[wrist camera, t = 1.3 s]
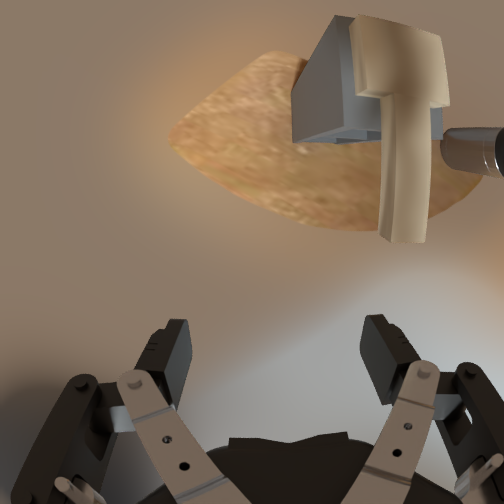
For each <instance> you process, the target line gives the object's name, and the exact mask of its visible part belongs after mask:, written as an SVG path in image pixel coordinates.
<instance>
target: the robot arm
mask: <svg viewBox="0 0 504 504" xmlns="http://www.w3.org/2000/svg"><path fill="white" fill-rule="evenodd" d="M441 153H442V156H443V159H444V161H445V162H446V164H447V165H448V166H449V167H451V168H452V169H455V170H461V171H466V172H471V173H476V174H481V175H487V176H491V177H496V178H500V179H504V127H503V128H502V127H493V128H492V127H478V128H477V127H475V128H451V129H448V130H447V131H446V132H445V133H444V134H443V140H441ZM360 354H361V357H362V359H363V361H364V364H365V366H366V368H367V370H368V373H369V375H370V377H371V380H372V382H373V384H374V387H375V389H376V392H377V394H378V396H379V399H380V401H381V404H382V405H387V404H392V406H393V408H392V411H391V412H390V414H389V417H388V419H387V421H386V423H385V425H384V427H383V429H382V431H381V433H380V436H379V438H378V440H377V441H376V443H375V445H374V446H373V445H371V444H369V443H366V442H363V441H359V440H353V439H349V438H348V434H347V432H339V433H331V434H323V435H317V436H314V437H311V438H307V439H304V440H300V441H297V442H293V443H284V442H278V441H272V440H266V439H261V438H229V445H228V446H223V447H219V448H215V449H213V450H210V451H208V452H206V453H205V452H204V450H203V449H202V448H201V446H200V445H199V444H198V442H197V441H196V439H195V438H194V437H193V435H192V434H191V433H190V431H189V430H188V428H187V427H186V425H185V424H184V423H183V421H182V420H181V418H180V417H179V415H178V414H177V408H178V405H179V401H180V397H181V394H182V391H183V387H184V384H185V380H186V377H187V373H188V370H189V366H190V363H191V360H192V345H191V338H190V332H189V326H188V321H187V320H186V319H170V320H169V322H168V324H167V326H166V328H165V329H159V330H157V331H156V332H155V333H154V334H152V335H151V337H150V339H149V341H148V344H146V347H145V348H144V350H143V352H142V354H141V356H140V358H139V360H138V362H137V364H136V366H135V368H134V370H130V371H128V372H125V373H123V374H122V375H121V376H120V377H119V378H118V380H117V382H113V383H102V384H98V381H97V380H96V378H95V377H94V376H92V375H90V374H80V375H77V376H75V377H73V378H72V379H70V380H69V382H68V383H67V385H66V387H65V388H64V390H63V392H62V393H61V395H60V397H59V398H58V400H57V402H56V404H55V406H54V407H53V409H52V411H51V412H50V414H49V416H48V418H47V420H46V422H45V424H44V425H43V427H42V429H41V431H40V433H39V435H38V437H37V439H36V441H35V443H34V444H33V446H32V448H31V450H30V452H29V455H28V457H27V459H26V461H25V463H24V465H23V467H22V469H21V471H20V474H19V476H18V478H17V480H16V482H15V485H14V487H13V490H12V492H11V503H12V504H106V502H105V500H104V499H103V498H102V497H101V496H100V495H99V493H100V490H101V486H102V483H103V480H104V476H105V473H106V470H107V466H108V463H109V460H110V457H111V454H112V451H113V447H114V445H115V442H116V439H117V436H118V433H119V432H126V431H137V433H138V435H139V437H140V439H141V441H142V443H143V445H144V447H145V449H146V451H147V453H148V455H149V457H150V458H151V460H152V462H153V464H154V465H155V467H156V469H157V470H158V473H159V474H160V476H161V478H162V479H163V481H164V484H163V485H161V486H160V487H159V488H157V489H156V490H155V491H153V492H152V493H150V494H149V495H147V496H146V497H145V498H143V499H142V500H140V501H138V502H137V503H135V504H504V401H503V400H502V399H501V397H500V395H499V394H498V392H497V391H496V389H495V388H494V386H493V385H492V383H491V382H490V380H489V379H488V378H487V376H486V375H485V373H484V372H483V370H482V369H481V368H480V367H479V366H478V365H476V364H474V363H471V362H464V363H461V364H459V365H458V367H457V369H456V371H455V372H440V371H439V369H438V367H437V366H436V365H435V364H433V363H431V362H429V361H425V360H421V358H420V357H419V355H418V354H417V353H416V351H415V349H414V348H413V346H412V345H411V344H410V343H409V340H408V339H407V338H406V337H405V335H404V333H403V332H402V330H401V329H400V328H398V327H397V326H395V325H394V324H389V323H388V321H387V320H386V318H385V317H384V315H383V314H378V315H367V316H366V317H365V321H364V326H363V331H362V336H361V341H360ZM466 408H467V410H468V411H469V413H470V415H471V417H472V424H471V422H470V420H469V419H468V417H467V415H466V413H465V410H466ZM432 420H435V422H436V425H437V427H438V429H439V432H440V434H441V436H442V439H443V441H444V444H445V446H446V449H447V451H448V454H449V456H450V459H451V461H452V464H453V467H454V470H455V472H456V475H457V478H458V479H457V481H456V483H455V489H454V490H455V493H454V494H453V493H451V492H449V491H448V490H446V489H444V488H442V487H440V486H439V485H437V484H435V483H433V482H432V481H430V480H428V479H426V478H425V477H423V476H421V475H420V474H418V473H416V472H415V469H416V466H417V463H418V461H419V458H420V455H421V452H422V450H423V447H424V444H425V441H426V438H427V435H428V431H429V428H430V425H431V421H432Z"/></svg>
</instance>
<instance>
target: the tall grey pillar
mask: <svg viewBox="0 0 504 504" xmlns="http://www.w3.org/2000/svg"><path fill="white" fill-rule="evenodd" d="M354 19H355V18H351V17H345V16H338V15H335V16H334V18H333V19H332V21H331V23H330V25H329V26H328V28H327V30H326V31H325V33H324V35H323V36H322V38H321V40H320V42H319V43H318V45H317V47H316V49H315V50H314V52H313V54H312V56H311V57H310V59H309V61H308V63H307V64H306V66H305V68H304V70H303V72H302V73H301V75H300V77H299V79H298V81H297V82H296V84H295V86H294V88H293V90H292V92H291V107H292V141H293V143H301V142H323V143H335V144H351V143H364V142H379V141H381V109H380V98H373V97H365V96H357V95H355V81H354V69H353V58H352V49H351V40H350V32H349V26H350V25H351V23H352V22H353V21H354ZM430 119H431V140H443V119H442V107H439V108H430Z"/></svg>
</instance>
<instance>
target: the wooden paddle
mask: <svg viewBox="0 0 504 504" xmlns="http://www.w3.org/2000/svg"><path fill="white" fill-rule="evenodd" d="M349 32H350V40H351V49H352V58H353V69H354V81H355V95H357V96H365V97H373V98H380V109H381V146H382V156H381V193H380V211H379V225H378V234H379V235H381V236H382V237H383V238H385V239H386V240H388V241H389V242H390V243H412V242H413V243H418V242H420V243H422V242H425V235H426V226H427V217H428V207H429V194H430V177H431V119H430V108H439V107H444V106H450V100H449V90H448V80H447V73H446V66H445V59H444V53H443V48H442V42H441V37H440V36H438V35H435V34H432V33H429V32H427V31H423V30H420V29H417V28H414V27H410V26H407V25H403V24H400V23H396V22H392V21H388V20H384V19H379V18H375V17H370V16H365V15H360V14H359V15H358V16H357V17H356V18H355V19H354V21H353V22H352V23H351V25H350V26H349Z"/></svg>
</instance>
